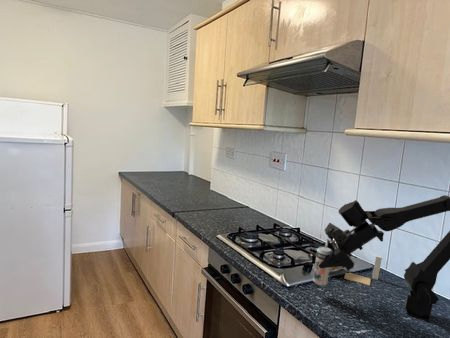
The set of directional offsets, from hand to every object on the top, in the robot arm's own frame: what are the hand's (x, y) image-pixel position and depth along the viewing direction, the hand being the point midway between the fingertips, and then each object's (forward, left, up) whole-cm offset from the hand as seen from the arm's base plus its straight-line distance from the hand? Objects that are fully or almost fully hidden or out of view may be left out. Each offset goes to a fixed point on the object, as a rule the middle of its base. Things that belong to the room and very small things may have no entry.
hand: (318, 263), depth 105 cm
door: (-3, -21, -11) cm, 24 cm away
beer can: (-1, 0, -7) cm, 7 cm away
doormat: (-12, -22, -11) cm, 27 cm away
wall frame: (-9, -27, -11) cm, 30 cm away
